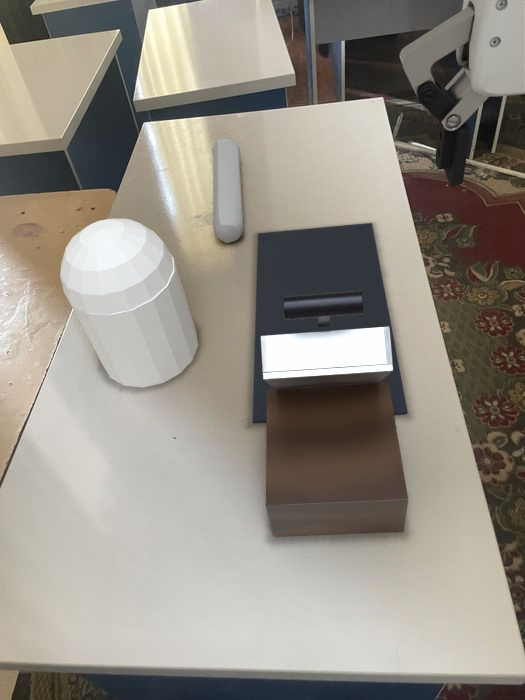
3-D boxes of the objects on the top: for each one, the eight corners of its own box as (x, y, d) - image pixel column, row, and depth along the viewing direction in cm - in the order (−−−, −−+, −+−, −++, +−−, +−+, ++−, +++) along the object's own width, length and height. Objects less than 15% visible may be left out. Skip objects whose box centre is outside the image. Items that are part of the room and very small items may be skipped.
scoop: (402, 363, 42) (395, 285, 42) (254, 373, 43) (250, 297, 44) (378, 382, 60) (374, 328, 61) (276, 389, 61) (272, 335, 62)
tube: (248, 224, 87) (243, 140, 103) (213, 219, 86) (213, 135, 102) (242, 251, 91) (238, 166, 107) (209, 247, 90) (209, 162, 106)
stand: (403, 532, 57) (408, 499, 51) (273, 537, 58) (265, 506, 53) (385, 419, 65) (388, 382, 60) (273, 425, 67) (266, 389, 61)
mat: (407, 414, 65) (407, 412, 65) (253, 423, 67) (252, 421, 67) (371, 224, 89) (371, 222, 89) (258, 235, 91) (258, 233, 91)
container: (92, 390, 74) (25, 274, 59) (111, 317, 82) (57, 200, 68) (193, 384, 72) (151, 264, 57) (202, 310, 81) (167, 189, 66)
